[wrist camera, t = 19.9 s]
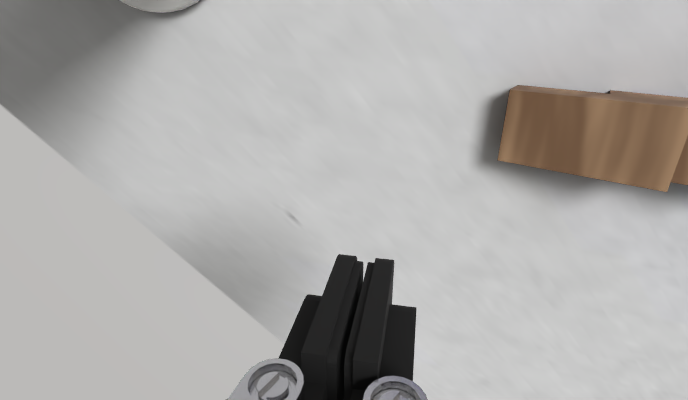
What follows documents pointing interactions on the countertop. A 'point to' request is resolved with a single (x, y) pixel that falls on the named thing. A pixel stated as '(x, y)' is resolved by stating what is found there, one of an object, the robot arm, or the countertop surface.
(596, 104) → the domino
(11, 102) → the countertop surface
